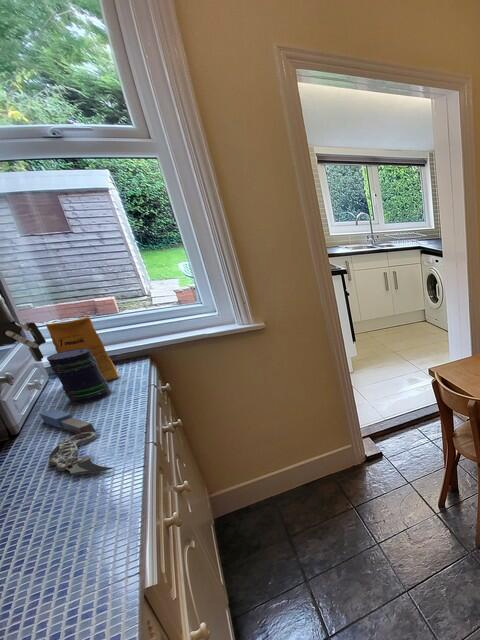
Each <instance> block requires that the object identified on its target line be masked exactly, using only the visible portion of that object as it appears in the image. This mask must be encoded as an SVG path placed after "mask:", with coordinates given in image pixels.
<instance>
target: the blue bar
mask: <svg viewBox="0 0 480 640" xmlns="http://www.w3.org/2000/svg"><path fill="white" fill-rule="evenodd" d="M38 415H39V416H40V418H41V419H42V421H43V423H44V424H47V425H50V426H53V427H56V428H58V429H62V430H63V429H65V428H64V427H63V425H62V423H61V421H64V420H67V419H70V418H73V416H72V415H71V414H70V413H68V412H65V411H61V410H58V409H55V408H51V409H49V410H44V411H43V412H39V414H38Z"/></svg>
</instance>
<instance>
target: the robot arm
mask: <svg viewBox="0 0 480 640" xmlns="http://www.w3.org/2000/svg"><path fill="white" fill-rule="evenodd" d="M22 330H25V332H29V333H30V335H31V336H32V338H33V339H34V340H33V341H31V340H29V339H28V338H26V337H24V336H21V332H22ZM16 342H18V343H19V344H22V345H24V346H26V347H28V350H29V352H30V354H31V356H32V358H33V359H34V361H35V362H37V363H40V362H42V361H43V359H44V355H43V352H42V351H41V350H40V346H42V345H44V344H46V342H47V340H46V339H45V337H44V335H43V334H42V332H41V331H40V329H39V327H38V326H37V324H36V323H35V322H32V321H26V322H25V323H21V324H18V323H17V322H16V320H15V318H14V317H13V315H12V313H11V311H10V309H9V307H8V306H7V304H6V301H5V299H4V298H3V296H2V294H0V347H3V346H5V345H12V344H15V343H16Z"/></svg>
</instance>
